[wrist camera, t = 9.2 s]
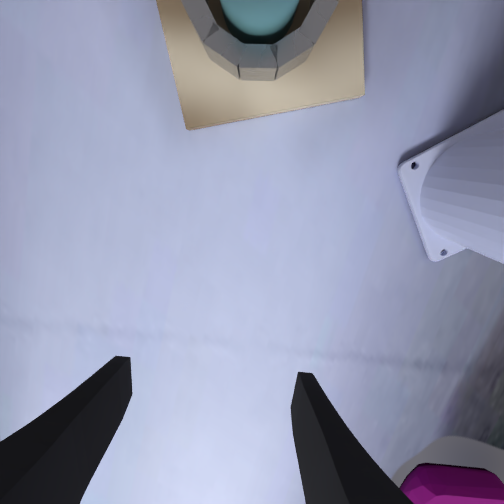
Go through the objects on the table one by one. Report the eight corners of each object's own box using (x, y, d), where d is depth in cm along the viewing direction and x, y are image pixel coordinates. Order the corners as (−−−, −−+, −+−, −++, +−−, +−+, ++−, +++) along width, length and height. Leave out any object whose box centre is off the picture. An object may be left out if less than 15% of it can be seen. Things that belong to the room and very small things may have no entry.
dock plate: (137, -96, 14) (129, -114, 13) (349, -149, 13) (356, -172, 13) (189, 130, 18) (186, 129, 17) (358, 97, 17) (364, 94, 16)
